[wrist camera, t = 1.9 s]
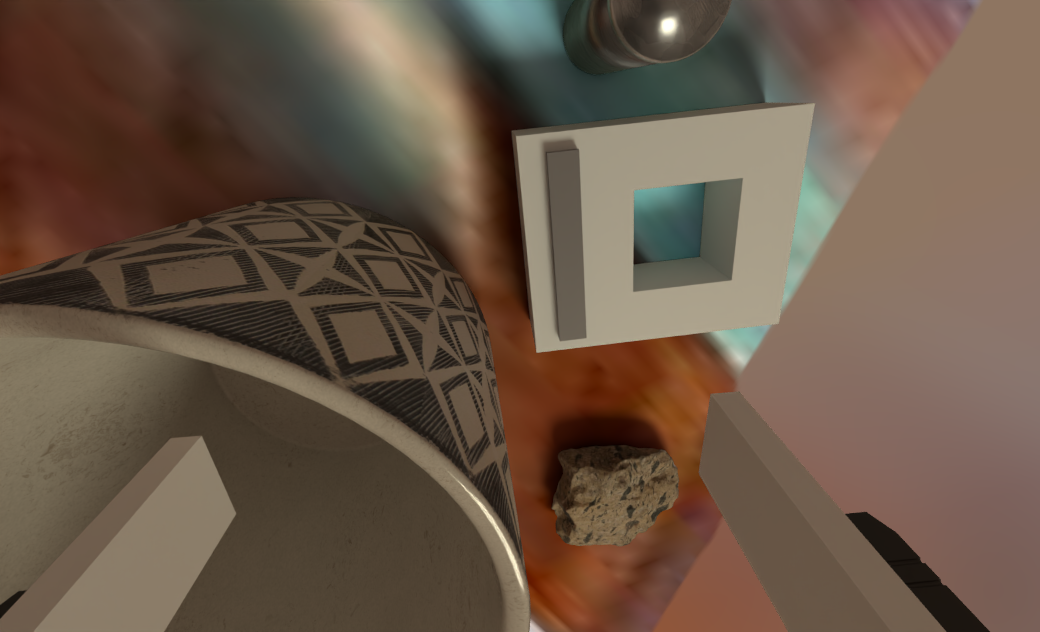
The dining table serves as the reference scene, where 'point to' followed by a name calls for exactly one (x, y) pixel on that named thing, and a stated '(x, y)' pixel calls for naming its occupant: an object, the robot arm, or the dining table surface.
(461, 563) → the planter
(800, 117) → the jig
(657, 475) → the rock
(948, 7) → the dining table surface
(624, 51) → the metal cylinder
